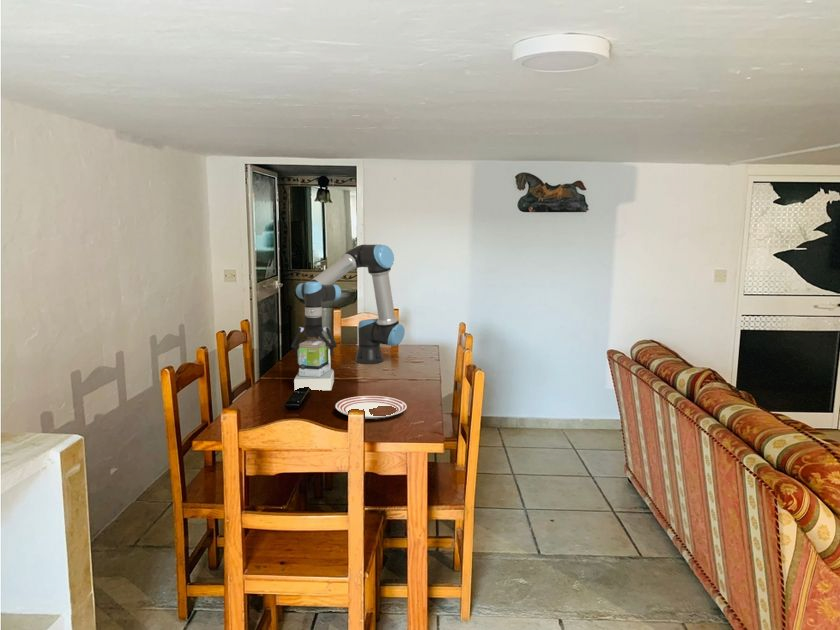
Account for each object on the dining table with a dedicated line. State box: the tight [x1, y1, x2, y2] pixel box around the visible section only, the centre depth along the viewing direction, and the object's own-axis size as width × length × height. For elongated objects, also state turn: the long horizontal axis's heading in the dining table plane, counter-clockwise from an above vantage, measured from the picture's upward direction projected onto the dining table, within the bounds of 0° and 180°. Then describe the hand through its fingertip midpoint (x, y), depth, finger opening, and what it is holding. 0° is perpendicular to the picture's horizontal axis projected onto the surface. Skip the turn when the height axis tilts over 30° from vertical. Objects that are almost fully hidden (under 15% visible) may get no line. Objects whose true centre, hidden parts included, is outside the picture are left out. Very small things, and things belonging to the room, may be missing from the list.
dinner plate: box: [334, 395, 408, 420], centre depth 221 cm, size 28×27×3 cm
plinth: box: [293, 368, 335, 392], centre depth 260 cm, size 16×16×6 cm
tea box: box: [298, 338, 332, 377], centre depth 258 cm, size 15×10×15 cm, turn 170°
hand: (314, 362), depth 259 cm, fingers open, 13 cm apart
